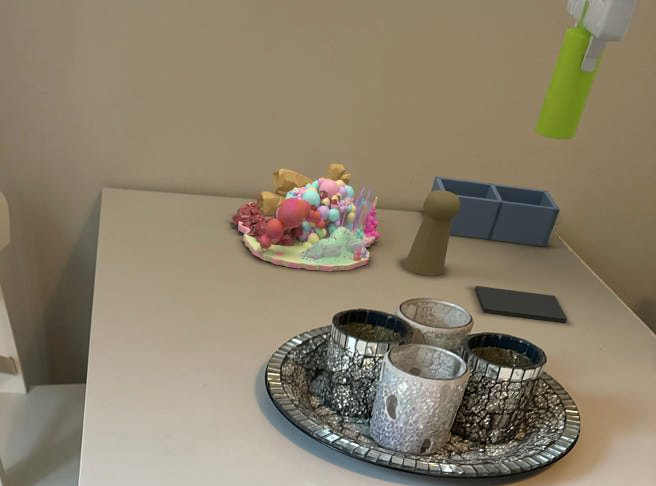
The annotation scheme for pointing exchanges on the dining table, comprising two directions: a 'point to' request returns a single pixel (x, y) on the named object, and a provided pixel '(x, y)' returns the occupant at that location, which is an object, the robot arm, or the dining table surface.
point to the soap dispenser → (568, 86)
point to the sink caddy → (501, 211)
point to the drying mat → (520, 304)
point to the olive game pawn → (433, 234)
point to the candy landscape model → (310, 222)
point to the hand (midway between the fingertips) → (579, 64)
